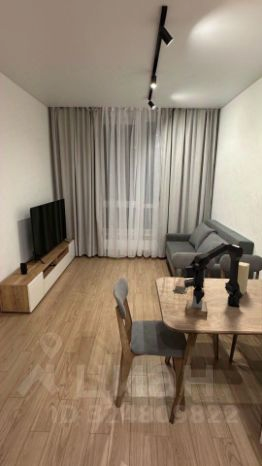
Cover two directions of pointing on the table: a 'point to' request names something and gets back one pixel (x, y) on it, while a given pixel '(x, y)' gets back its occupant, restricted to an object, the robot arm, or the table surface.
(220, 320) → the table surface
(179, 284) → the packaged product
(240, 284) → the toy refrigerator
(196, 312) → the walnut block
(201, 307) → the slate cube
